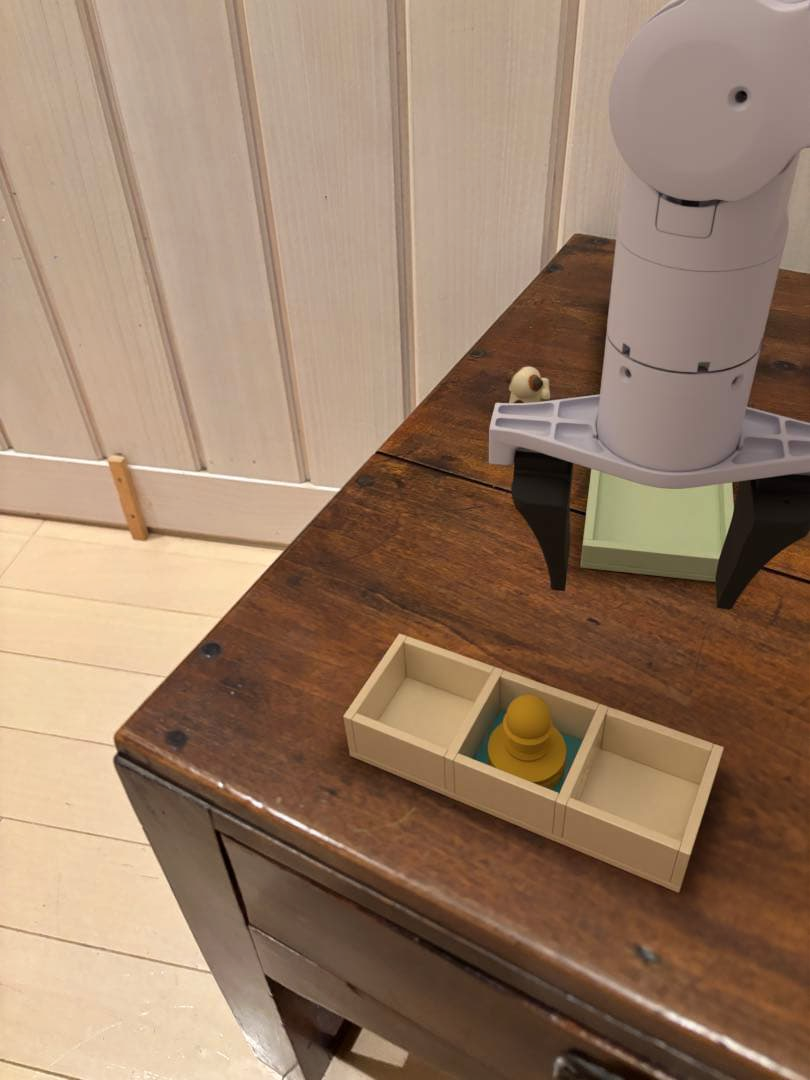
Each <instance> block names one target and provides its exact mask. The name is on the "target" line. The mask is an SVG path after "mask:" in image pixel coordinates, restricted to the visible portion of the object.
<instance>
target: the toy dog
mask: <svg viewBox="0 0 810 1080" xmlns="http://www.w3.org/2000/svg"><path fill="white" fill-rule="evenodd" d="M505 383H506V384H507V385H509V386H508V390H509V392H510V397H509V401H508V403H534V402H544V400H545V401H550V399H551V391H550V380H549V378H547V377H541V373H540V371H539V370H538V369H537V368H535V367H533V366H532V365H530V366H518V367H517V368H515V369H513V370H509V371H507V373H506V375H505Z"/></svg>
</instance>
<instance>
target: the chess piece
mask: <svg viewBox="0 0 810 1080" xmlns="http://www.w3.org/2000/svg"><path fill="white" fill-rule="evenodd" d="M565 759H566V745H565V742H564V739H563V737H562V735H561V734H560V733H559V731H558V730H557V729H556V728H555V727H553V722H552V719H551V713H550V709H549V707H548V705H547V704H546V703H545V701H544V700H542V699H541V698H540V697H538V696H535V695H531V694H526V695H521V696H519V697H517V698H515V699H514V700H513V701H512V702H511V703H510V705H509V707H508V709H507V713H506V714H505V716H504V719H503V723H501V724H500V725H499V726H498V727H496V729H495V730H494V731H493V732H492V734H491V736H490V738H489V742H488V765H489V766H492V767H494V768H497V769H499V770H502V771H504V772H507V773H509V774H512V775H514V776H517V777H520V778H522V779H525V780H527V781H530V782H532V783H535V784H537V785H540V786H542V787H545V788H547V789H550V790H552V789H553V788H554V787H555V786H556V785H557V784H558V783H559V782H560V780H561V778H562V776H563V773H564V767H565Z"/></svg>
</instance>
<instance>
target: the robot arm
mask: <svg viewBox="0 0 810 1080" xmlns="http://www.w3.org/2000/svg"><path fill="white" fill-rule="evenodd" d="M608 117H609V125H610V129H611V134H612V137H613V140H614V143H615V145H616V148H617V150H618V152H619V154H620V155H621V157H622V159H623V161H624V163H625V164H626V167H625V168H626V169H625V176H624V187H623V195H622V204H621V210H620V212H619V215H618V219H617V220H618V221H617V228H616V237H615V247H614V255H613V256H614V257H613V266H612V275H611V286H610V295H609V302H608V303H609V304H608V313H607V321H606V322H607V323H606V335H605V342H604V343H605V345H604V353H603V363H602V371H603V372H601V380H602V381H601V380H600V389H601V391H599V394H591V395H584V396H577V397H568V398H561V399H553V400H552V399H551V400H545V401H543V402H534V403H509V402H495V404H494V407H493V411H492V414H491V415H492V416H491V420H490V422H489V428H488V464H489V465H497V466H498V465H499V466H511V465H513V475H512V481H511V485H510V486H511V487H510V493H511V498H512V503H513V505H514V509H515V510H516V511H517V512H518V513H519V515H521V517H522V518H523V519H524V520H525V522H526V524H527V525H528V526H529V528H530V529H531V531H532V533H533V535H534V537H535V539H536V541H537V543H538V545H539V548H540V549H541V553H542V555H543V559H544V561H545V564H546V568H547V572H548V577H549V583H550V589H551V590H552V591H559V592H566V586H567V578H568V568H569V560H570V549H571V547H570V546H571V511H570V509H571V495H572V484H573V483H572V482H573V475H574V474H573V473H574V465H578V466H582V467H585V468H587V469H590V470H591V469H594V470H597V471H600V472H603V473H606V474H610V475H613V476H616V477H619V478H622V479H626V480H629V481H632V482H635V483H638V484H642V485H646V486H651V487H656V488H666V489H685V488H694V487H702V486H709V485H716V484H724V483H731V482H732V483H737V482H738V486H737V490H736V496H735V500H734V501H735V502H734V511H733V516H732V520H731V523H730V526H729V529H728V532H727V535H726V539H725V542H724V545H723V548H722V551H721V554H720V557H719V561H718V566H717V572H716V577H715V580H716V582H715V597H716V609H721V610H722V609H723V610H729V611H730V610H732V609H733V608H734V606H735V604H736V603H737V601H738V600H739V598H740V596H741V595H742V593H743V592H744V591H745V589H746V588H747V587H748V585H749V584H750V583H751V581H752V580H753V579H754V578H755V577H756V575H758V573H760V571H761V570H762V569H763V568H764V567H766V565H767V564H768V563H769V562H770V561H771V560H772V559H774V558H775V557H776V556H777V555H778V554H780V553H781V552H783V551H784V550H785V549H787V548H788V547H790V546H792V544H793V545H794V543H796V542H798V541H799V540H802V539H803V538H805V537H807V536H808V535H809V533H810V422H807V421H803V420H799V419H794V418H791V417H789V416H788V417H787V416H783V415H779V414H777V413H772V412H769V411H765V410H760V409H757V408H753V407H750V406H748V404H749V400H750V396H751V391H752V387H753V383H754V378H755V375H756V370H757V366H758V362H759V361H758V360H759V357H760V354H761V350H762V344H763V338H764V335H765V330H766V327H767V322H768V318H769V314H770V309H771V306H772V300H773V297H774V293H775V288H776V283H777V279H778V275H779V271H780V266H781V262H782V258H783V254H784V250H785V247H786V246H785V245H786V242H787V238H788V234H789V227H790V226H789V225H790V220H789V213H788V212H789V211H788V208H789V203H790V199H791V195H792V190H793V186H794V182H795V177H796V173H797V169H798V164H799V160H800V156H801V151H803V150H804V149H810V0H670V1H668V2H667V3H666V4H665V5H664V6H662V7H661V8H660V9H659V10H658V11H656V12H655V13H654V14H653V15H651V16H650V17H649V18H648V19H647V20H646V21H645V22H644V23H643V25H641V27H640V28H639V29H638V31H637V32H636V33H635V34H634V36H633V38H631V40H630V42H629V43H628V45H627V46H626V48H625V49H624V50H623V53H622V54H621V56H620V58H619V60H618V62H617V64H616V67H615V69H614V72H613V76H612V79H611V83H610V89H609V96H608Z"/></svg>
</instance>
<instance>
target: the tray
mask: <svg viewBox="0 0 810 1080" xmlns="http://www.w3.org/2000/svg"><path fill="white" fill-rule="evenodd" d="M602 372H603V370H602ZM602 372H601V373H602ZM601 381H602V379H601V380H600V382H601ZM600 391H601V388H600ZM600 391H599V392H600ZM734 501H735V500H734V487H733V482H731V483H724V484H716V485H709V486H702V487H694V488H685V489H666V488H656V487H651V486H646V485H642V484H638V483H635V482H632V481H629V480H626V479H622V478H619V477H616V476H613V475H610V474H606V473H603V472H600V471H597V470H594V469H591V468H590V477H589V484H588V494H587V503H586V511H585V520H584V527H583V530H584V531H583V537H582V538H583V539H582V544H581V545H582V547H581V556H580V557H581V558H580V565H579V566H580V568H581V569H590V570H591V569H592V570H597V571H598V570H600V571H609V572H617V573H619V572H620V573H625V574H626V573H629V574H636V575H647V576H656V577H663V578H664V577H665V578H675V579H682V580H692V581H702V582H710V583H711V582H712V583H716V580H715V577H716V572H717V566H718V561H719V557H720V554H721V551H722V548H723V545H724V542H725V539H726V535H727V532H728V529H729V526H730V523H731V520H732V516H733V511H734V506H735V502H734Z"/></svg>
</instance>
